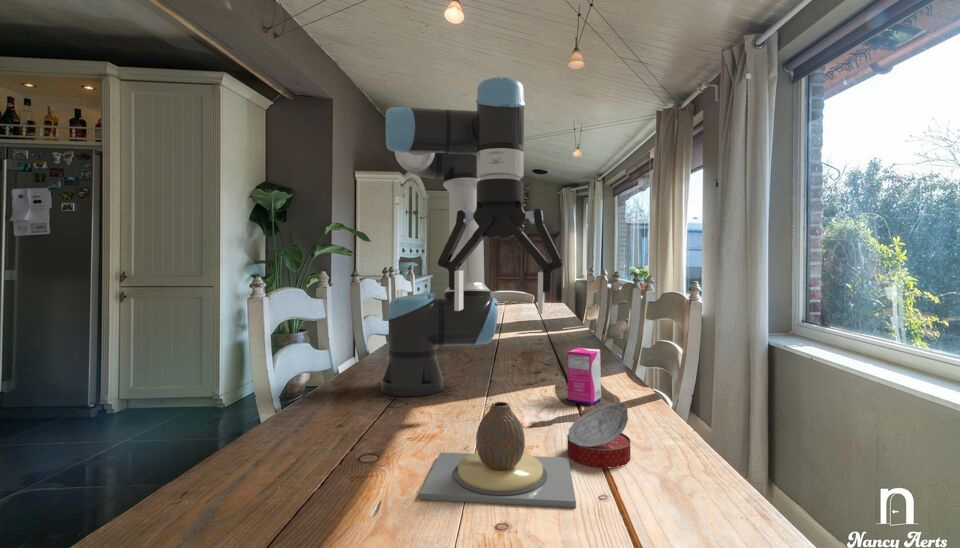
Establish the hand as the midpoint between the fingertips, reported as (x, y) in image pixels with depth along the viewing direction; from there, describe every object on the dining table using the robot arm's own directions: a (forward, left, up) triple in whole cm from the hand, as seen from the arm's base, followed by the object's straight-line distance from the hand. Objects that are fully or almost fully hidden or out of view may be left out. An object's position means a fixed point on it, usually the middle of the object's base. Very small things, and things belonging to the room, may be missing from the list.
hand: (499, 311), depth 79 cm
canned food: (0, +16, -23) cm, 28 cm away
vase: (+10, +1, -21) cm, 24 cm away
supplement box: (-32, +17, -23) cm, 43 cm away
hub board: (+11, +1, -23) cm, 25 cm away
